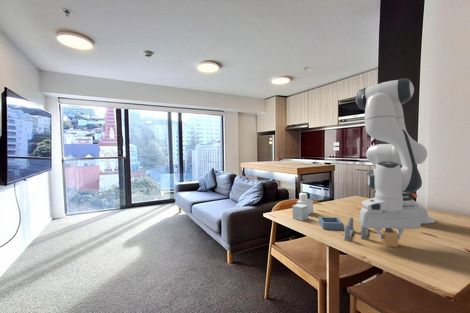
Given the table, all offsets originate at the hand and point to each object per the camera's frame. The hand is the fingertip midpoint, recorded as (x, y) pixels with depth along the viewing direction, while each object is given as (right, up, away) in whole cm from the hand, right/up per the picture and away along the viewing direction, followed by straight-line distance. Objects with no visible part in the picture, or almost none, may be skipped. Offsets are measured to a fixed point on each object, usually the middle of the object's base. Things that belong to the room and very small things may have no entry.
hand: (389, 238), depth 85 cm
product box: (-24, -2, +35) cm, 42 cm away
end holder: (-13, -2, +22) cm, 26 cm away
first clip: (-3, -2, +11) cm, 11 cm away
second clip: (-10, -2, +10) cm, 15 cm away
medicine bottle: (-18, -2, +45) cm, 49 cm away
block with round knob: (0, -2, 0) cm, 2 cm away
